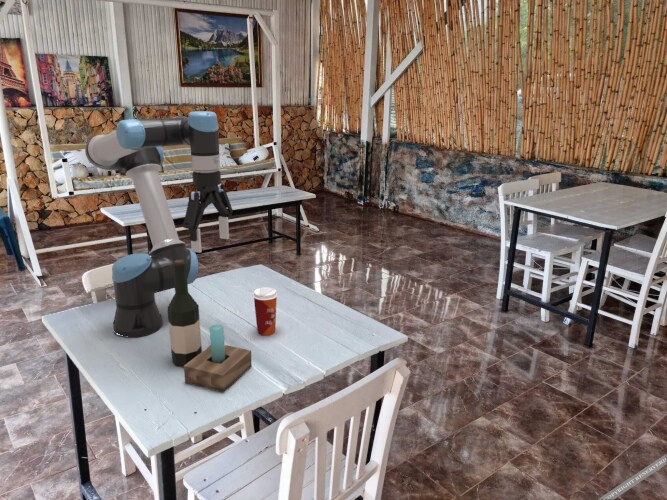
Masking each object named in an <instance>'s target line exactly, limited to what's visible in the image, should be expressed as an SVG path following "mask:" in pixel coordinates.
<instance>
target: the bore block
mask: <svg viewBox="0 0 667 500" xmlns="http://www.w3.org/2000/svg"><path fill="white" fill-rule="evenodd" d="M252 363H253V362H252V350H250V349H245V348H241V347H237V346H231V345H227V344H225V361H224V362H222V363H221V364H219V363H215V362H212V356H211V344H210V345H209V346H208V347H206V348H205V349H204V350H202V352H201V353H200V354H199V355H197V356H196V357H195V358H193V359H192V360H191V361H190V362H188V363H187V364H186V365H184V367H183V373H184V382H185V383H186V384H188V385H193V386H196V387H201V388H205V389H209V390H213V391H216V392H220V393H222V394H223V393H225V392H227V390H228V389H229V388H230V387H231V386H232V385H234V384H235V383H236V382H237V381H238V380H239V379H240V378H241V377H242V376H243V375H244V374H245V373H247V371H249V370H250V369H251V367H252Z"/></svg>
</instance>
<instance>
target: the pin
mask: <svg viewBox="0 0 667 500" xmlns="http://www.w3.org/2000/svg"><path fill="white" fill-rule="evenodd" d="M224 327H225V326H224V325H222V324H213V325H211V326H209V337H210V345H211V356H212V362H215V363H219V364H221V363H222V362H224V361H225V345H226V344H225V328H224Z"/></svg>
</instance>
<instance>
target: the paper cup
mask: <svg viewBox="0 0 667 500" xmlns="http://www.w3.org/2000/svg"><path fill="white" fill-rule="evenodd" d="M278 295H279V294H278V293H277V289H275V288H273V287H265V286H264V287H259V288H256V289H255V290H254V292H253V294H252V297H253V303H254V312H255V321H256V322H255V323H256V330H257V334H258V335H260V336H263V337H264V336H265V337H269V336H272V335H275V334H276V325H277V324H276V323H277V322H276V321H277V297H278Z"/></svg>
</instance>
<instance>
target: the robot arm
mask: <svg viewBox="0 0 667 500" xmlns="http://www.w3.org/2000/svg"><path fill="white" fill-rule="evenodd" d="M219 127H220V126H219V124H218V115H217V113H215V112H214V111H207V110H206V111H202V110H201V111H200V110H199V111H195V110H194V111H190V112H189V113H188V116H184V115H181V116H174V117H163V118H161V117H159V118H129V119H122V120H120V121H118V123H117V126H116V129H115V130H112V131H111V132H109V133H107V134H97V135H95V136H93V137H91V138H90V139H89V140H88V141H87V142H86V143H85V144H86V145H85V149H84V152H85V156H86V159H87V160H88V162H89V163H91V164H92V165H93V166H94V167H96V168H98V169H101V170H105V171H122V170H123V171H124V174H125V176H126V178H128V179H131V180H132V182H133V187H134V190H135V192H136V196H137V199H138V203H139V206H140V209H141V212H142V215H143V218H144V222H145V225H146V229H147V231H148V234H149V238H150V240H151V244H152V248H151V249H150V252H149V253H144V252H143V253H140V252H139V253H133V254H132V253H131V254H128V255H125V256H123V257H120V258H118V259H117V260H116V261H115V262H114V263H113V265H112V267H111V272H112V273H111V274H112V276H111V278H112V279H111V280H112V282H113V283H112V285H113V291H114V298H115V306H116V309H115V312H114V318H113V322H112V329H113V330H114V331H115V332H116V333H118V334H120V335H123V336H128V337H127V338H141V337H146V336H148V335H151V334H154V333H156V332H158V331H159V330H161V328H162V327H163V325H164V319H163V316H162V314H161V312H160V309H159V308H158V305H157V303H156V297H155V294H157V293H160V292H165V291H168V290H172V289H175V284H174V273H173V264H174V261H176V260H184V263H186V271H187V283H188V285H190V284H192V283H194V282H196V279H197V277H198V273H199V261H198V255H197V254H196V253H202V250H203V249H202V240H201V239H202V237H201V228H199V226H200V223H201V221H202V217H203V215H204V213H205V209H206V208H208V207H209V205H213V207H214V208H215V210H216V211H217V212H218V213H219V216H218V227H219V228H218V229H219V239H224V240H229V239H230V234H229V233H230V232H229V231H230V230H229V225H230V224H229V218H230V217H232V215H233V214H232V213H233V212H234V211H233V208H232V204H231V202H230V200H229V197H228V194H227V192H226V191H227V190H226V185H225V184H224V183H222V174H221V171H220V169H221V160H220V159H221V158H220V138H219V137H220V135H219ZM174 146H175V147H176V146H189V147H190V148H189V149H190V161H191V162H190V164H191V169H192V170H193V171H192V173H191V175H192V184H193V185H194V186H195V187H196V191H189V192H188V202H187V207H186V211H185V212H186V213H185V215H184V220H183V225H182V226H183V229H186V230H187V229H188V230H189V231H188V233H189V240H190V245H191V248H189V247H188V248H187V245H186V242H184V241H182V240H180V238H179V235H178V232H177V229H176V225H175V223H174V219H173V217H172V213H171V210H170V209H171V208H170V206H169V203H168V201H167V197H166V194H165V191H164V187H163V184H162V182H161V178H160V175H159V173H160V172H161V170H162V166H163V163H164V161H165V156H164V149H163V148H164V147H174ZM149 254H150V255H149ZM114 331H113V332H114ZM140 336H141V337H140Z"/></svg>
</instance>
